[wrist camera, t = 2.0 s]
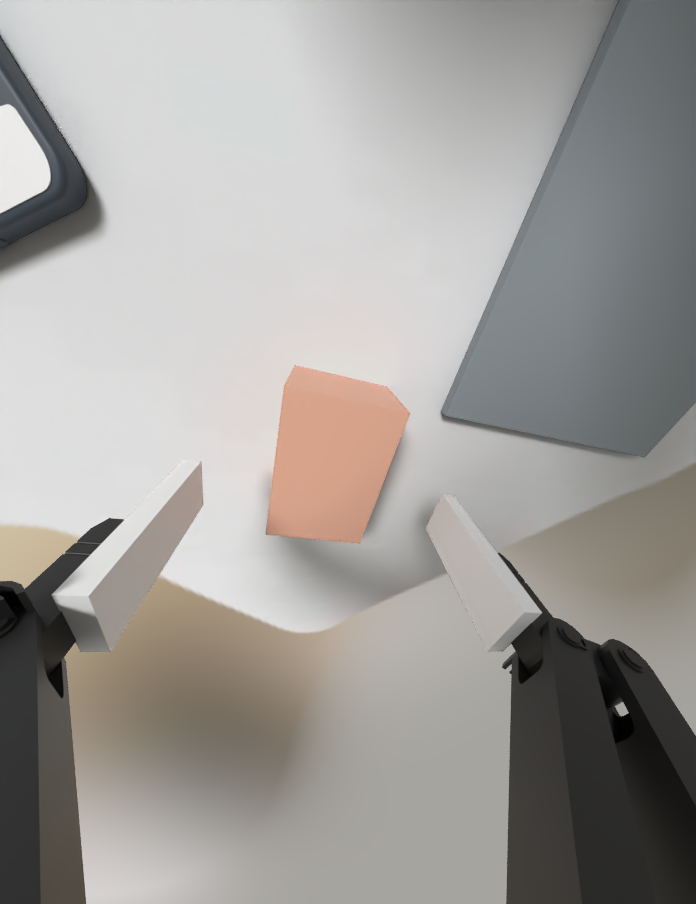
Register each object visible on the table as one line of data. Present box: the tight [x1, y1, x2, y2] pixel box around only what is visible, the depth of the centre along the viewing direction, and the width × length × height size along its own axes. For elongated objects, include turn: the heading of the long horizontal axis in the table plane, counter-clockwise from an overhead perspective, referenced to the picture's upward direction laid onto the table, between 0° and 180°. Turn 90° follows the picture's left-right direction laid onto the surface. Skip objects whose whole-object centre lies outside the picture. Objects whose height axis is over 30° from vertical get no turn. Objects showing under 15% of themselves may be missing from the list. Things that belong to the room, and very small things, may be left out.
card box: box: [266, 365, 410, 544], centre depth 17 cm, size 10×6×6 cm, turn 166°
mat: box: [441, 0, 696, 457], centre depth 16 cm, size 20×20×1 cm
